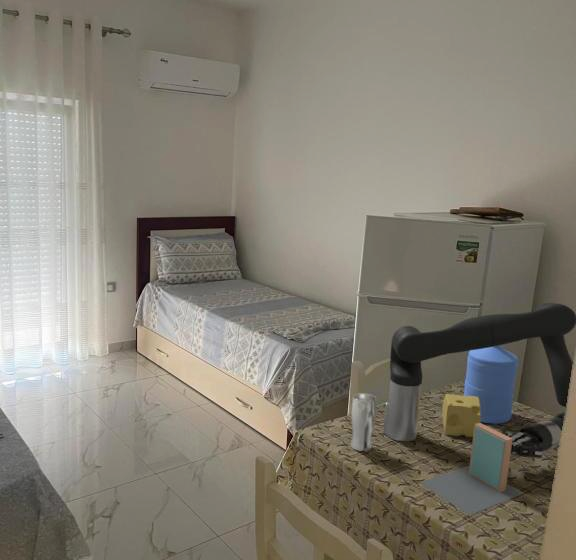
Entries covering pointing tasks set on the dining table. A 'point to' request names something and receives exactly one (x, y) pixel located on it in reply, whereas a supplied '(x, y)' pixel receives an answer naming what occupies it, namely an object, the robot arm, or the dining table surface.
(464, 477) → the mat
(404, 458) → the dining table surface
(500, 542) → the dining table surface
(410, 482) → the dining table surface
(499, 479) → the tile
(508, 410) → the water jug
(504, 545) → the dining table surface
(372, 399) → the beer glass
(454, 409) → the cheese
